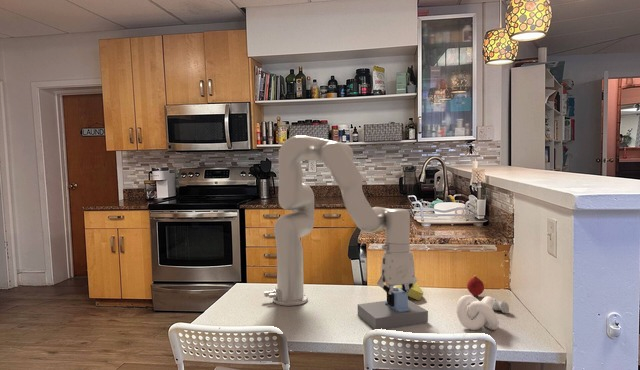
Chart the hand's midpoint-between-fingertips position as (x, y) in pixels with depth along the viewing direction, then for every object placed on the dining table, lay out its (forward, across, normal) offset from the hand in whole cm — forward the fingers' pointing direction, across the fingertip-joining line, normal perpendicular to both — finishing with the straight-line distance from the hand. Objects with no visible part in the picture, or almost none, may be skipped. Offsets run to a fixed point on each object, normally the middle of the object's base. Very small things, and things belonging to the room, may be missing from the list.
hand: (397, 303), depth 128 cm
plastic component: (+5, +15, +22) cm, 27 cm away
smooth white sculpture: (+5, +35, -5) cm, 35 cm away
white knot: (+5, +20, -14) cm, 25 cm away
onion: (+5, +38, +9) cm, 39 cm away
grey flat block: (+5, -2, 0) cm, 5 cm away
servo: (+4, 0, 0) cm, 4 cm away
